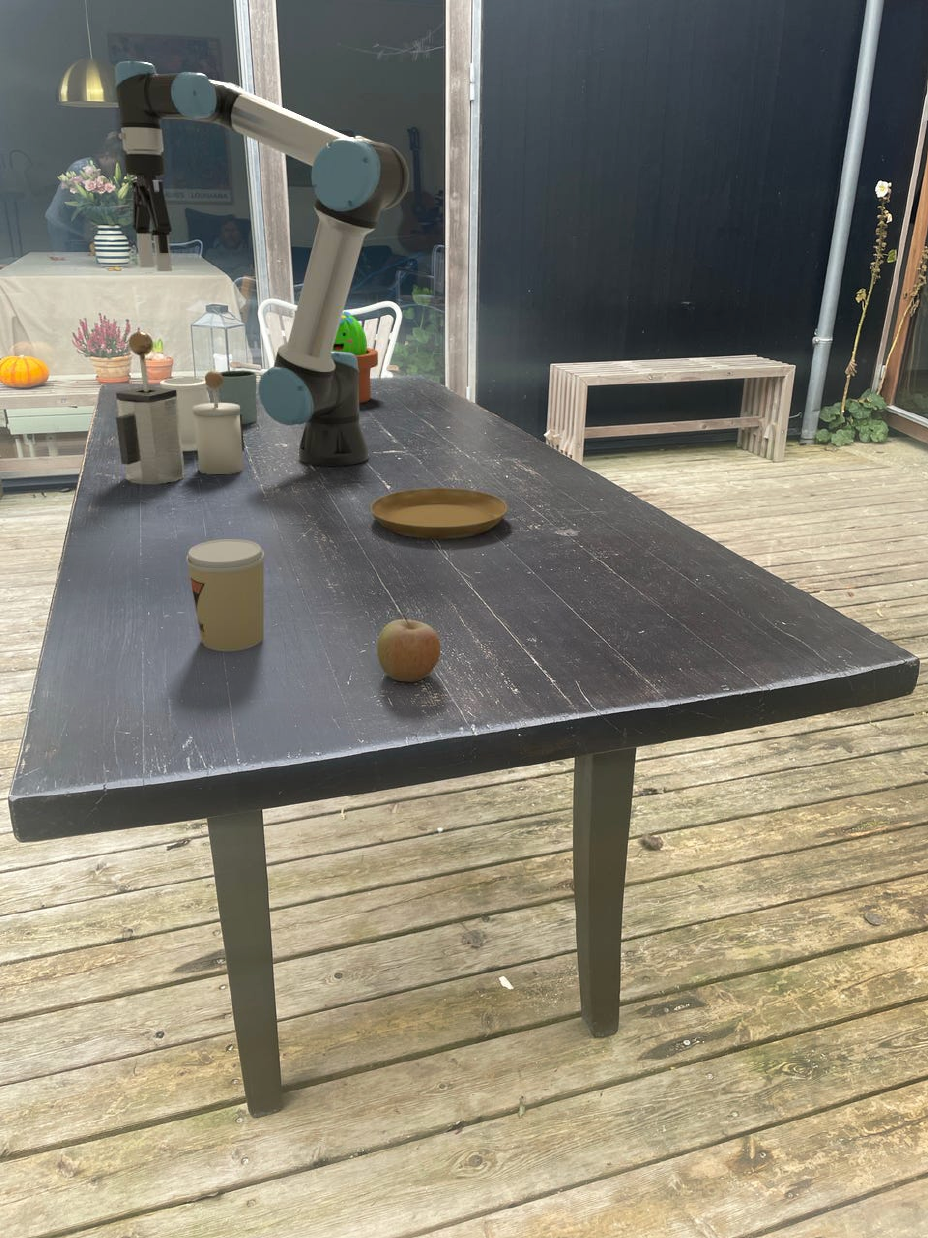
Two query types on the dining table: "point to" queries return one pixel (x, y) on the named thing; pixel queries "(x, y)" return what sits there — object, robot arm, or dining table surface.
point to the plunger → (142, 353)
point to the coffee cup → (228, 593)
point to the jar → (188, 406)
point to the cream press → (218, 432)
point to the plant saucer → (438, 512)
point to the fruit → (408, 649)
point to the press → (150, 435)
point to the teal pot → (240, 392)
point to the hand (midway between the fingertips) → (155, 269)
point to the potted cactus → (356, 351)
